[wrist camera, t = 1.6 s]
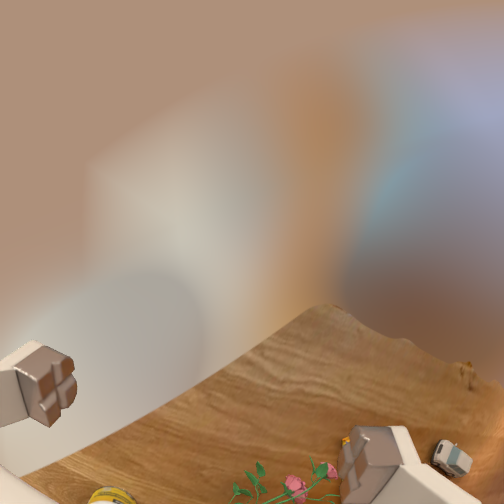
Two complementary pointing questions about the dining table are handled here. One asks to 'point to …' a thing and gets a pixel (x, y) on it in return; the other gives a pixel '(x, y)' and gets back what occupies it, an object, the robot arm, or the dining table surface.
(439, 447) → the toy car
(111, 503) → the pill bottle
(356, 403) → the dining table surface
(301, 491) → the flower vase
